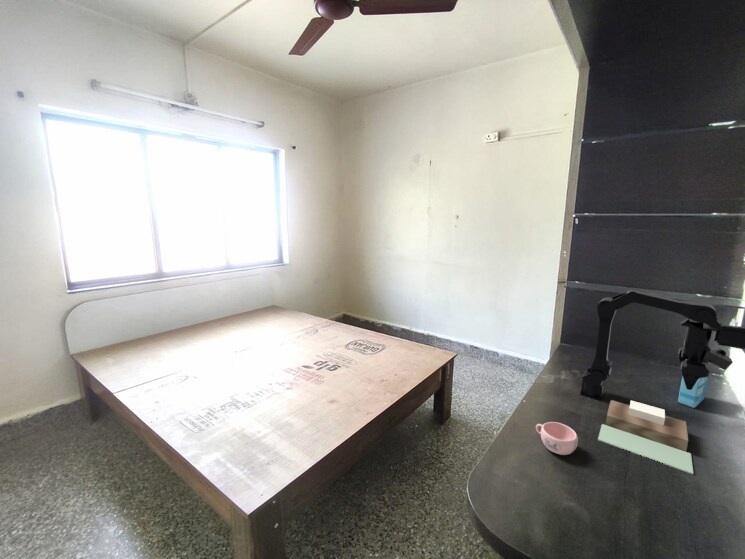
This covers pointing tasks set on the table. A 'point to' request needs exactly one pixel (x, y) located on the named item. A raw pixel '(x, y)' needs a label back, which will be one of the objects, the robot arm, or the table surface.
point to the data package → (693, 393)
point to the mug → (558, 437)
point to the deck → (648, 426)
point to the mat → (647, 448)
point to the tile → (647, 412)
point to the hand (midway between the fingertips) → (687, 383)
